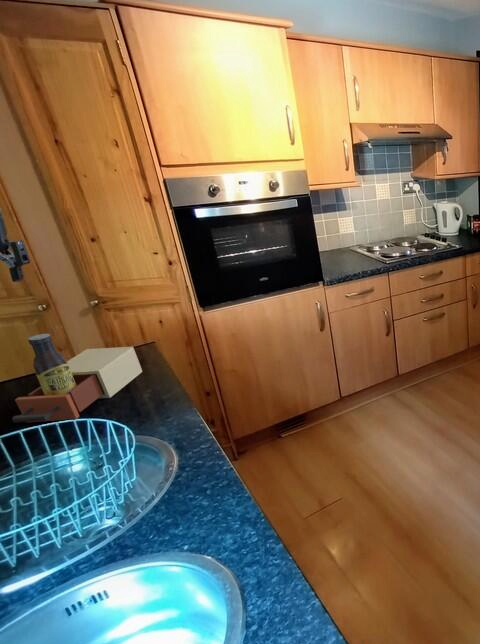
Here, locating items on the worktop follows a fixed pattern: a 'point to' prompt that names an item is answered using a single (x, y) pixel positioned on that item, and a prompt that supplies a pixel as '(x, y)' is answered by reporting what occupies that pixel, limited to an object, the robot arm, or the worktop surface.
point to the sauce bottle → (51, 366)
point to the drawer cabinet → (107, 367)
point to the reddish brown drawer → (59, 401)
